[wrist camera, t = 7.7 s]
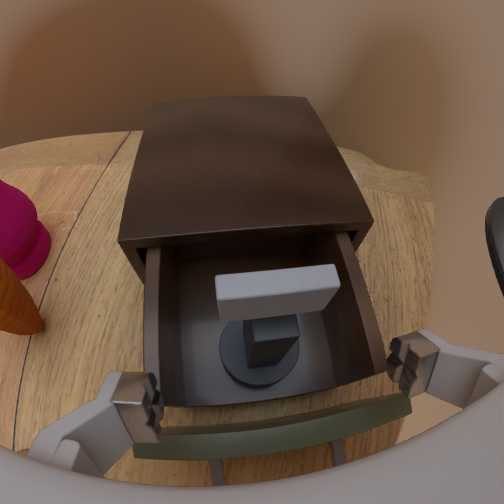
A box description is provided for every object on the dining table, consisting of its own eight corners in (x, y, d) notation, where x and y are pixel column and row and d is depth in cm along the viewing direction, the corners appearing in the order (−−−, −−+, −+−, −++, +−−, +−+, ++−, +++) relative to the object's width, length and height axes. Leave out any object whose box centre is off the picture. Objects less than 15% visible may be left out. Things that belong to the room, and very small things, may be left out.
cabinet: (332, 288, 21) (374, 221, 14) (157, 306, 20) (116, 241, 13) (293, 165, 29) (305, 96, 22) (166, 174, 28) (152, 104, 20)
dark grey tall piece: (285, 318, 18) (330, 215, 9) (297, 382, 16) (370, 342, 7) (218, 325, 17) (198, 224, 9) (225, 392, 15) (206, 367, 6)
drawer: (365, 468, 13) (421, 484, 7) (179, 498, 12) (149, 535, 6) (317, 248, 22) (342, 189, 17) (163, 262, 21) (139, 203, 15)
